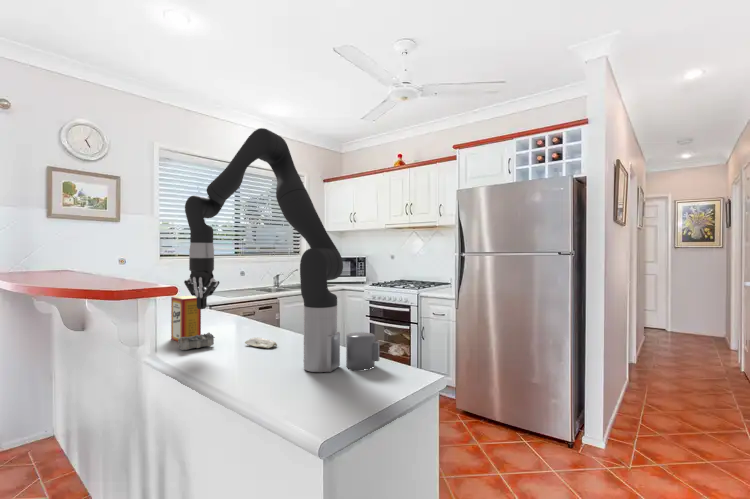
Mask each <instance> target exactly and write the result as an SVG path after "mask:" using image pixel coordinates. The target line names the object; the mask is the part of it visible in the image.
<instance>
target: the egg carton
mask: <svg viewBox="0 0 750 499" xmlns="http://www.w3.org/2000/svg"><path fill="white" fill-rule="evenodd" d="M215 338H216V337H215V336H214V335H213V334H212V333H210V332H206V333H203V334H201V335H196V336H191V337H181V338H179V339H178V342H177V343H178V349H180V351H183V350H185V351H186V350H191V349H195V348H196V349H199V348H203V347H211V346H214V344H215V343H214V341H215V340H214V339H215Z"/></svg>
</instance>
